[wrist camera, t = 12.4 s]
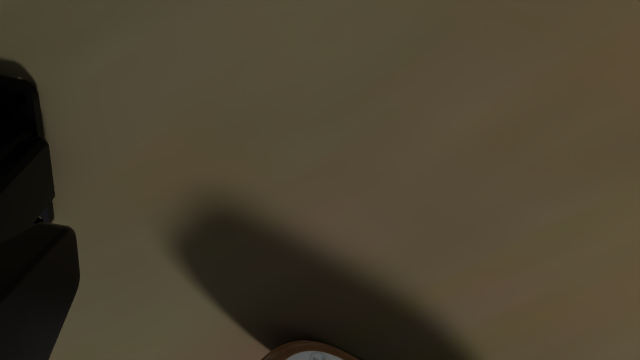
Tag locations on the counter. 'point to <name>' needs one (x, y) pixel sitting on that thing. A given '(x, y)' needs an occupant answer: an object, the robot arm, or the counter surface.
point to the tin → (307, 352)
